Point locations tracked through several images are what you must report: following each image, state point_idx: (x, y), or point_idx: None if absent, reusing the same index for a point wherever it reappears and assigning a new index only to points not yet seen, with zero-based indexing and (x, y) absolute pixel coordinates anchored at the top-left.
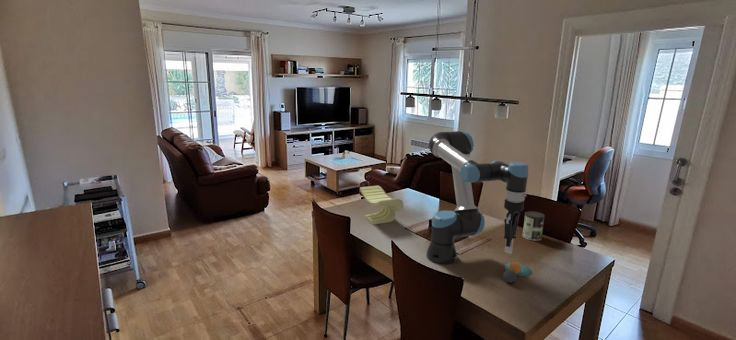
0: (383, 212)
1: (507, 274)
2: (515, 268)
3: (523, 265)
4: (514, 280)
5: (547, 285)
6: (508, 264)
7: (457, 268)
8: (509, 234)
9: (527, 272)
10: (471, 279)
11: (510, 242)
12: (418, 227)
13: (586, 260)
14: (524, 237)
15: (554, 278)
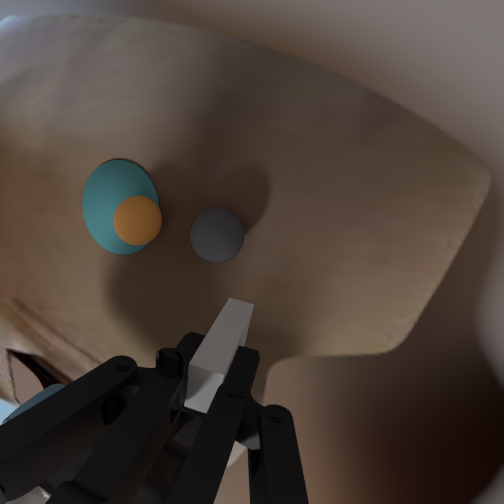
0: None
1: (232, 250)
2: (152, 221)
3: (86, 193)
4: (233, 214)
5: (178, 94)
6: (104, 243)
7: None
8: (298, 472)
9: (123, 173)
10: (275, 353)
11: (235, 368)
12: None
13: (9, 51)
14: None
15: (120, 83)
